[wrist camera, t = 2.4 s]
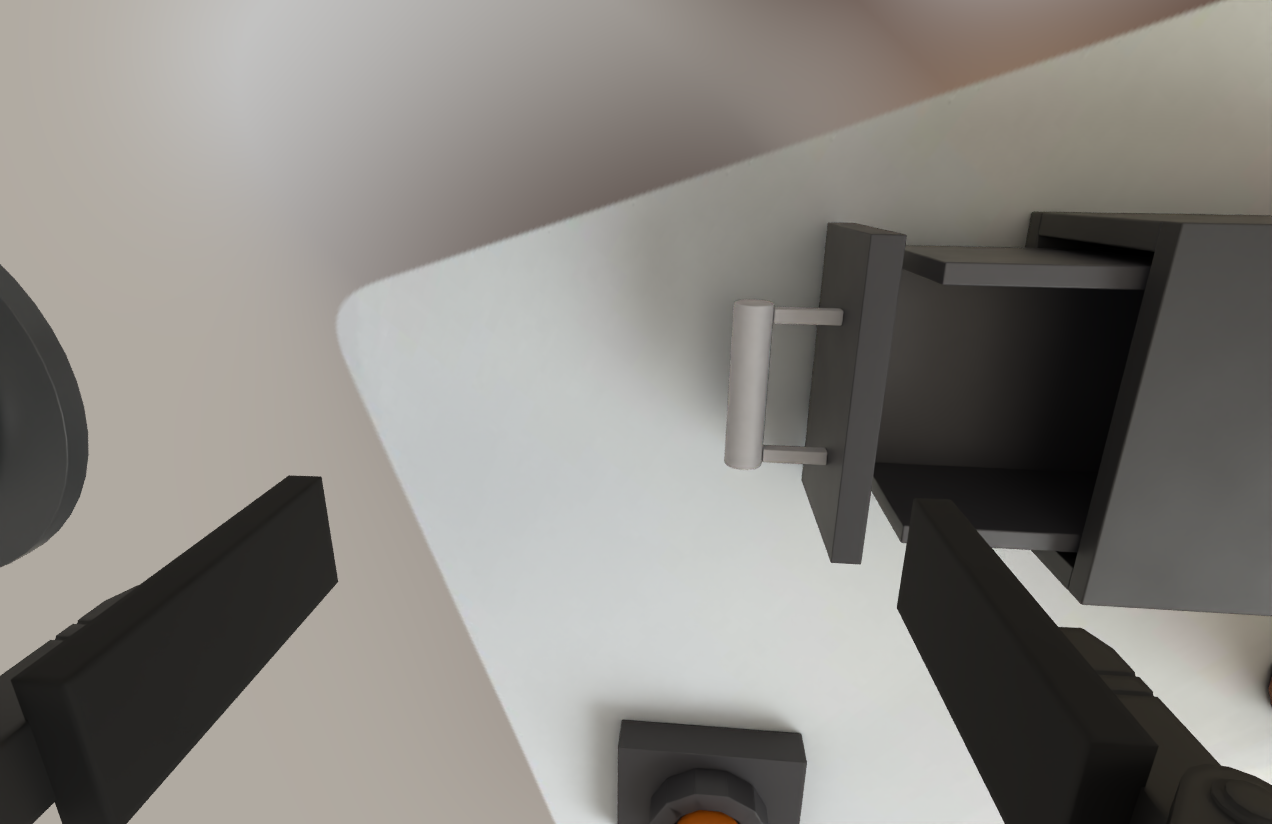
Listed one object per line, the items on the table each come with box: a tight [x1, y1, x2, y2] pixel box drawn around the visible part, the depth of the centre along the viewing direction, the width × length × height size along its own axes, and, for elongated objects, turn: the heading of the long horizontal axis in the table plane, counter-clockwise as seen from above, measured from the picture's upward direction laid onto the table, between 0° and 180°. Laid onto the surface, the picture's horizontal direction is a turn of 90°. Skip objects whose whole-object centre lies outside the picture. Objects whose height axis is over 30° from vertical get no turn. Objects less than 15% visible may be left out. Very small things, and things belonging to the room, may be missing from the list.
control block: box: [618, 720, 807, 824], centre depth 41 cm, size 11×9×4 cm
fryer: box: [1025, 212, 1272, 616], centre depth 27 cm, size 16×14×10 cm
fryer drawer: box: [724, 223, 1155, 564], centre depth 28 cm, size 19×13×8 cm
